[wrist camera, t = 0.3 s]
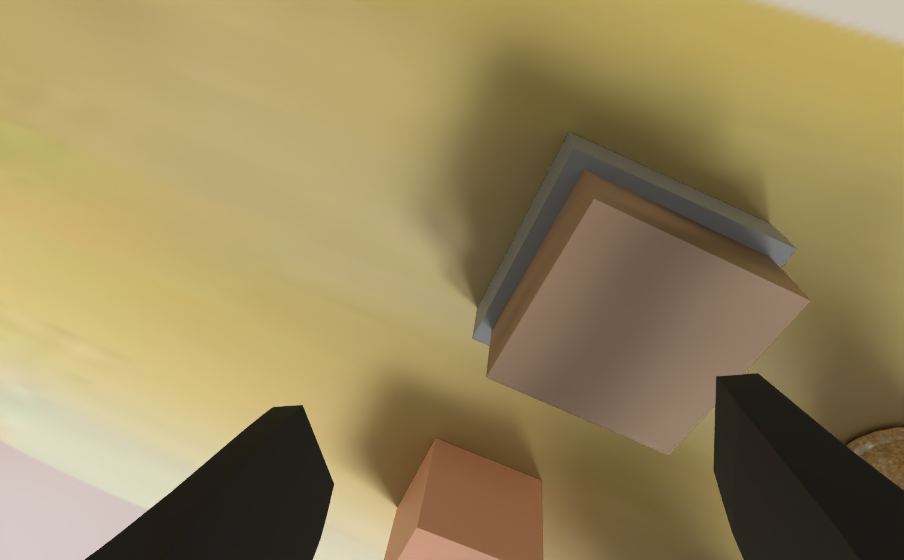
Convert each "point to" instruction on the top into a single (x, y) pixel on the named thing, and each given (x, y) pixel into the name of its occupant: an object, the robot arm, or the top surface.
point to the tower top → (637, 315)
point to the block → (467, 511)
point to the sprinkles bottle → (883, 452)
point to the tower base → (634, 178)
